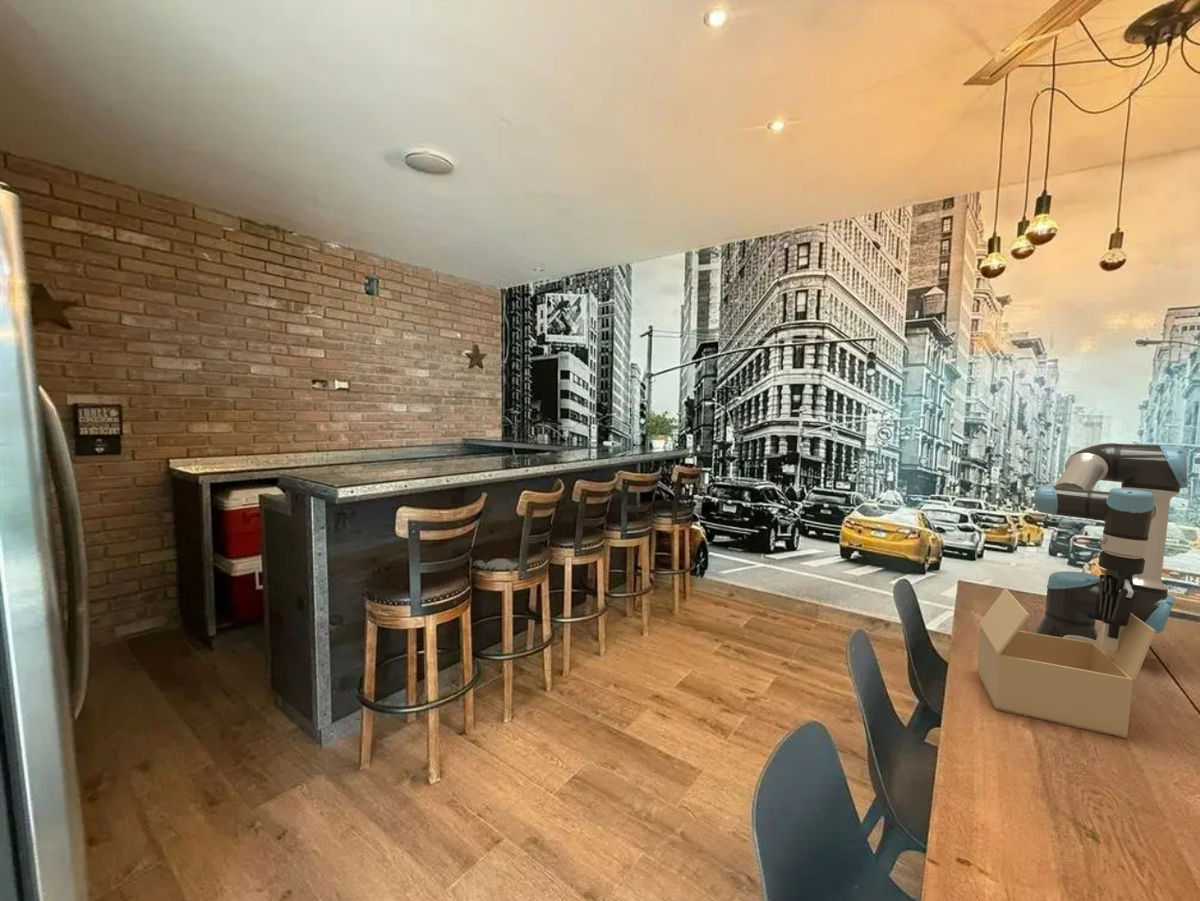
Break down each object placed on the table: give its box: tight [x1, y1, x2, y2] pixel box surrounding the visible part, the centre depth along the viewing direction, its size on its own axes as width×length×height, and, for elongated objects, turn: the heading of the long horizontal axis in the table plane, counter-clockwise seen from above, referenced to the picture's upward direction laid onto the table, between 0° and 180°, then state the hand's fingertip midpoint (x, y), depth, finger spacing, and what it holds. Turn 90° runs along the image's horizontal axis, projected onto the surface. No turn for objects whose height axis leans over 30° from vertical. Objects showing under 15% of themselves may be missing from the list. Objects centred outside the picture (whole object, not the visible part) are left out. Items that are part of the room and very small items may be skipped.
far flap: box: [979, 588, 1030, 654], centre depth 131 cm, size 12×20×1 cm
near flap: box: [1095, 613, 1156, 680], centre depth 121 cm, size 12×20×1 cm
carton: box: [976, 626, 1134, 740], centre depth 128 cm, size 24×20×14 cm
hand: (1108, 648), depth 122 cm, fingers closed
